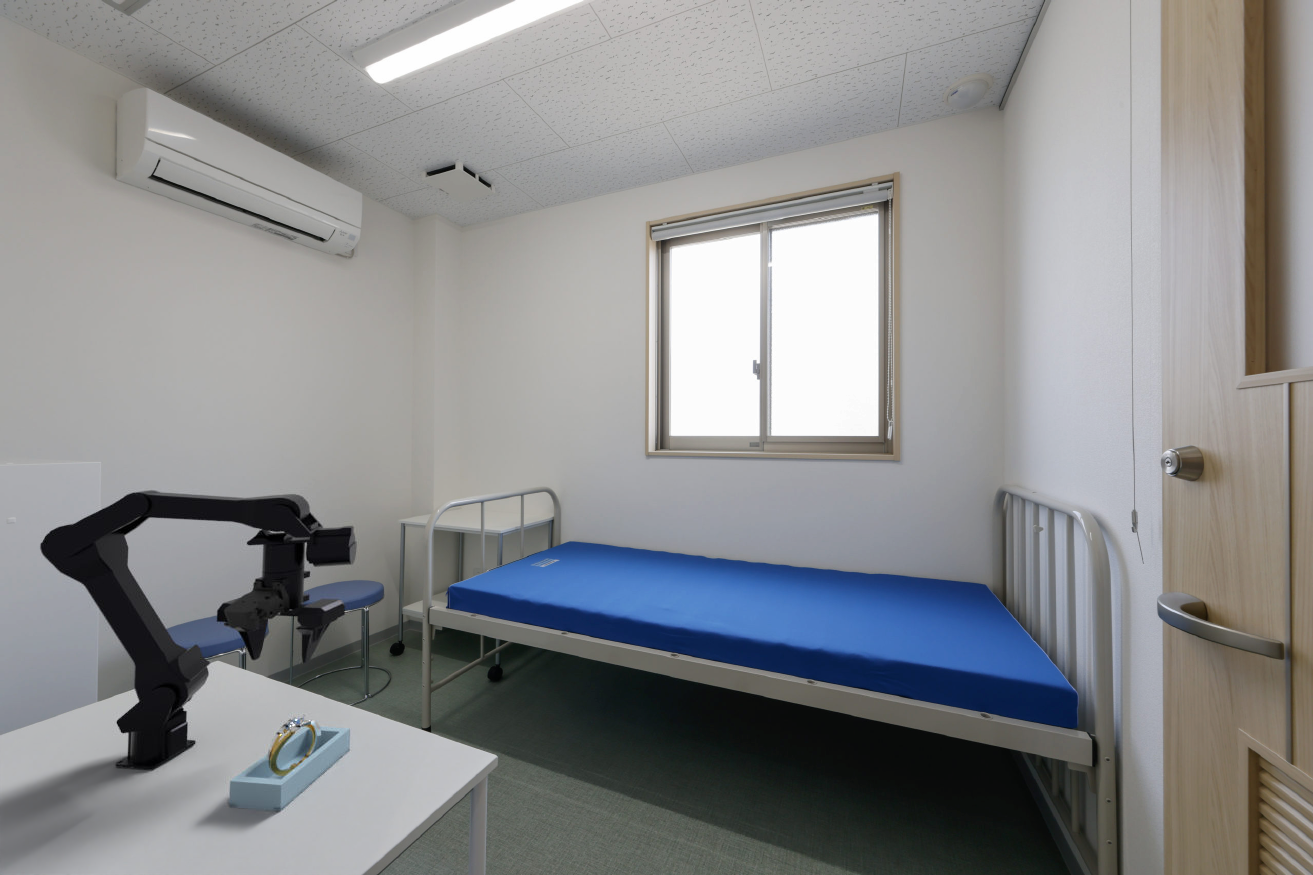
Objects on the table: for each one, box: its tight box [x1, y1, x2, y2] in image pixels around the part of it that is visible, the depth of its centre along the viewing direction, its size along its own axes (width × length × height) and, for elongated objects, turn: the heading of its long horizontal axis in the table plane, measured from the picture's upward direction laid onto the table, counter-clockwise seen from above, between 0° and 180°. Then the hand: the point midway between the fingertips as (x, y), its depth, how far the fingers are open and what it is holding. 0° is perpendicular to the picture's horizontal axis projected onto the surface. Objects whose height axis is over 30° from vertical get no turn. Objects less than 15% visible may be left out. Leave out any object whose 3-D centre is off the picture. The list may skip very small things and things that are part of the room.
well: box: [228, 725, 351, 812], centre depth 71 cm, size 8×13×4 cm, turn 175°
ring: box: [266, 714, 321, 776], centre depth 71 cm, size 7×3×8 cm, turn 154°
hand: (280, 660), depth 81 cm, fingers open, 9 cm apart
